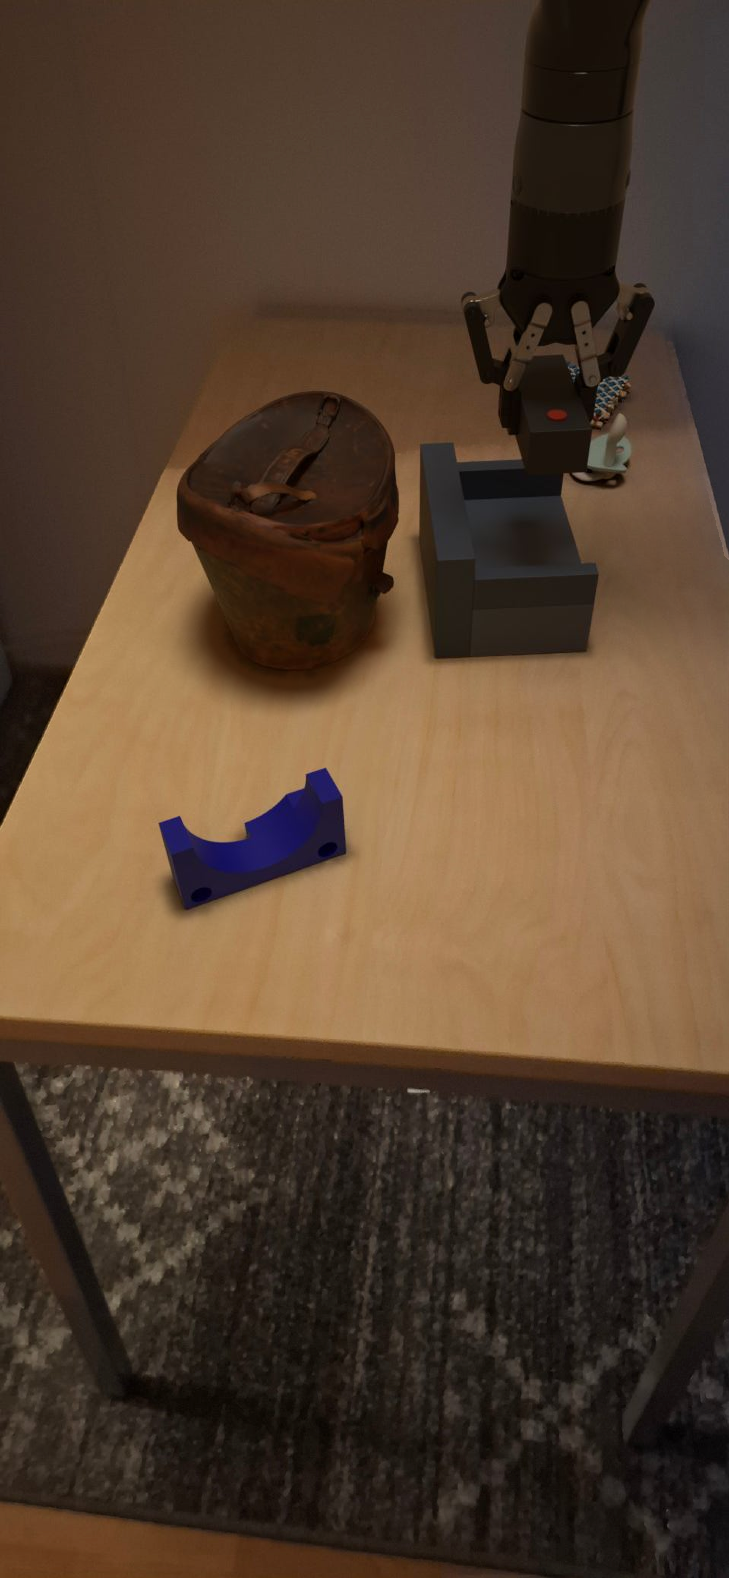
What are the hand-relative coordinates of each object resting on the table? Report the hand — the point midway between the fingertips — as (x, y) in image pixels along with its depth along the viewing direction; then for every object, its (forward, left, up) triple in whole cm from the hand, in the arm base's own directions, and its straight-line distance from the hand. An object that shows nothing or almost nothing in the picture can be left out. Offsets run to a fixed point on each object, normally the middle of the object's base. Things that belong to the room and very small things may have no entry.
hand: (543, 427), depth 81 cm
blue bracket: (+23, +28, -17) cm, 40 cm away
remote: (0, 0, -1) cm, 1 cm away
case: (+20, +2, -17) cm, 27 cm away
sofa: (+2, -2, -17) cm, 17 cm away
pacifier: (-11, -22, -17) cm, 30 cm away
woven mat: (-11, -37, -17) cm, 42 cm away
